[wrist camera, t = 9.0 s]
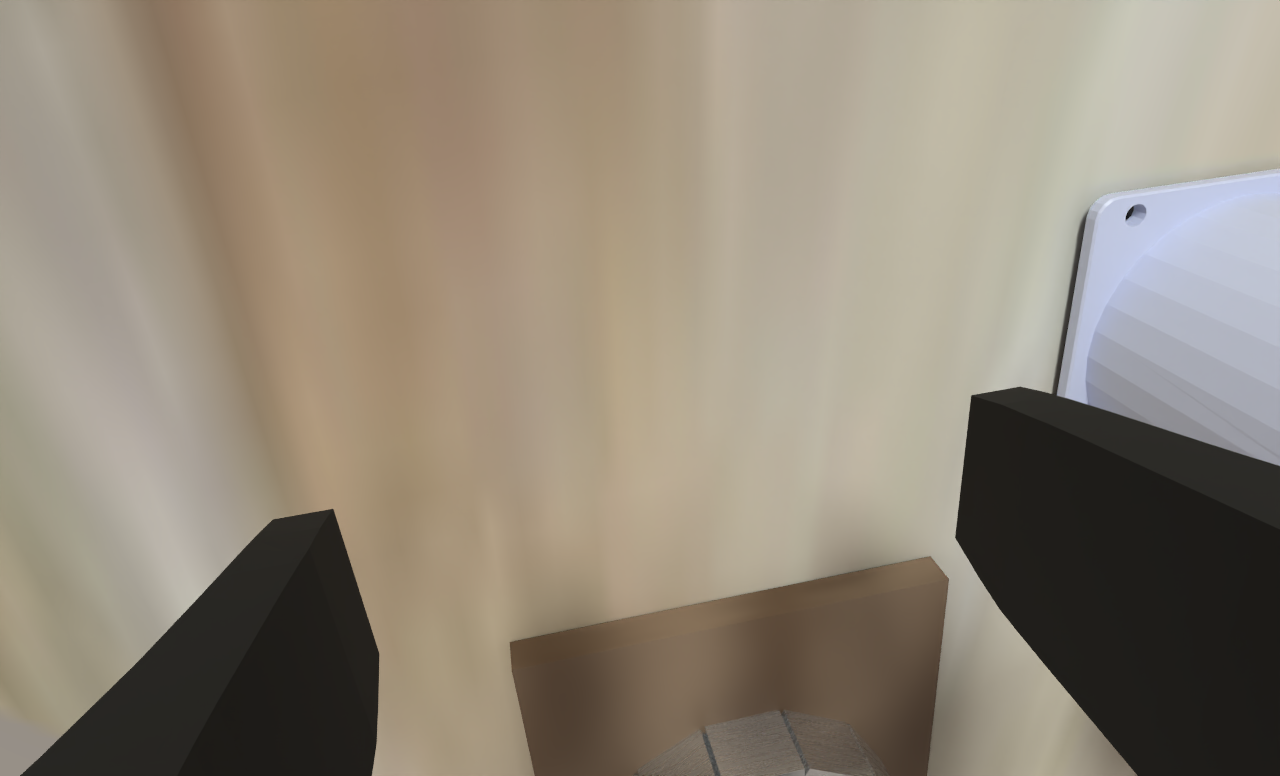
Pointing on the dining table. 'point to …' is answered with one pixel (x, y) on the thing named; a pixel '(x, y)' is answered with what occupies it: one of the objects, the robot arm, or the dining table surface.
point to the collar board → (745, 683)
